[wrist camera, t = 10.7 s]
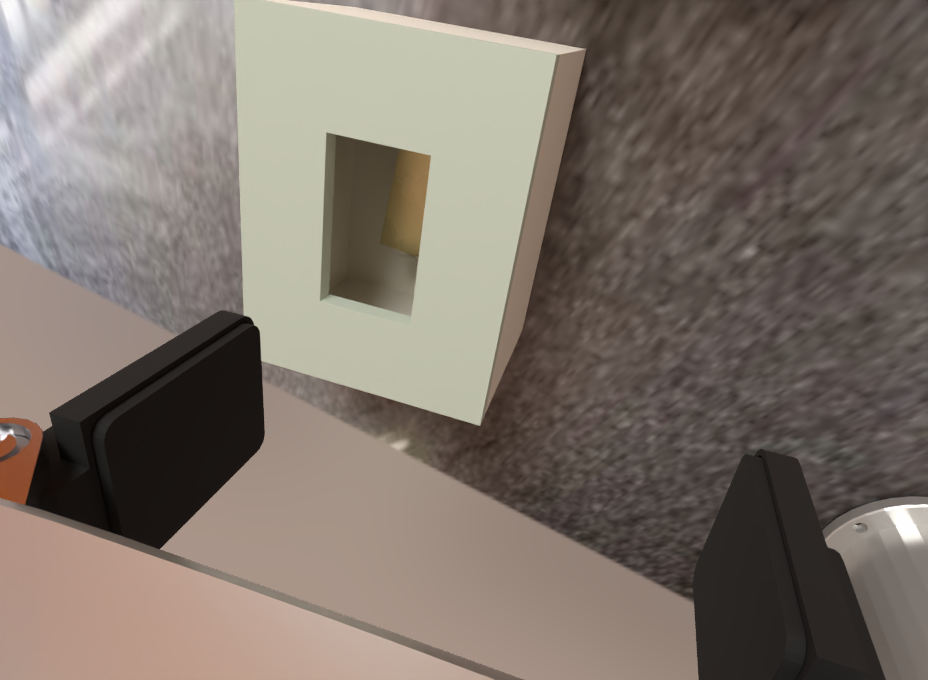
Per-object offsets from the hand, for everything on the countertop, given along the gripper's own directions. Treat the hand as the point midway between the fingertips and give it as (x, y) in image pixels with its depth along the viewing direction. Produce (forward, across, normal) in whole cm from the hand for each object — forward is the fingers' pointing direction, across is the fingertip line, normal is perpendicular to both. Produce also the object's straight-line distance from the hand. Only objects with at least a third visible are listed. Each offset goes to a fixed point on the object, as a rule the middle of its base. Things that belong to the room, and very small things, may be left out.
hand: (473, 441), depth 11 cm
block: (+28, +10, +2) cm, 30 cm away
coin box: (+28, +10, +2) cm, 30 cm away
